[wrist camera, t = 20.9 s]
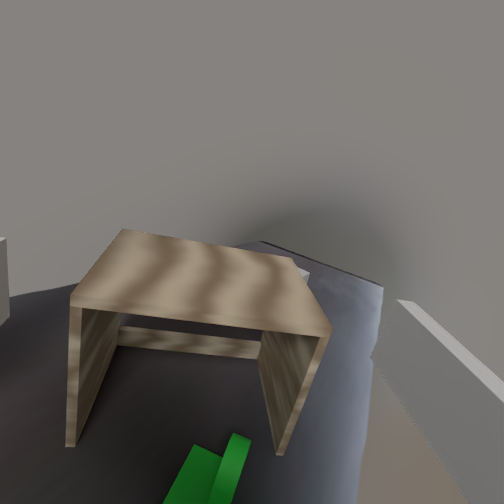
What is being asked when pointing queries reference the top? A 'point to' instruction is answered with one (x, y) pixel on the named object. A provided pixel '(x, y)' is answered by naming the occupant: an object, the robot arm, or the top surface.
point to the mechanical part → (210, 475)
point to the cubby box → (196, 318)
